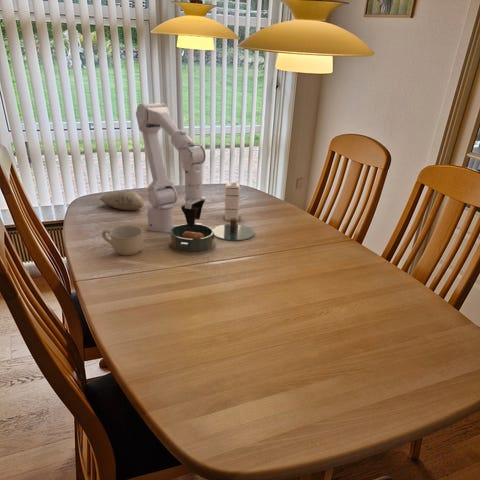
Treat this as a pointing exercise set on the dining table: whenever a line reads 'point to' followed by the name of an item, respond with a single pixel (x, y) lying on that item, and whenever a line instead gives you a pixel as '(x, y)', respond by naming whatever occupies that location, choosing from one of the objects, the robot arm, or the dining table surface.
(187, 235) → the bread
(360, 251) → the dining table surface
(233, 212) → the white toy tower
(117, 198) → the rock
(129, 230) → the teacup
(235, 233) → the lid
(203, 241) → the pot
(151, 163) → the robot arm
